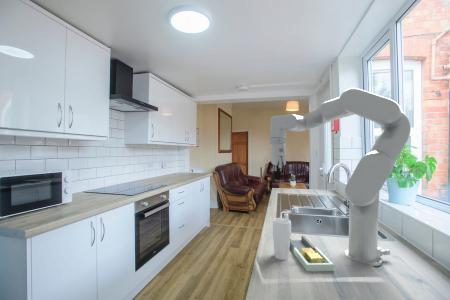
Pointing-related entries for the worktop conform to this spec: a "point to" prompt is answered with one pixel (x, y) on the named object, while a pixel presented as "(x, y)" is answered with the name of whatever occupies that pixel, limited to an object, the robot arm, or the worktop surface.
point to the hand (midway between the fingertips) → (276, 179)
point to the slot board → (301, 244)
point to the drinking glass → (281, 237)
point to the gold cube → (306, 251)
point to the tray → (324, 266)
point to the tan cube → (313, 258)
